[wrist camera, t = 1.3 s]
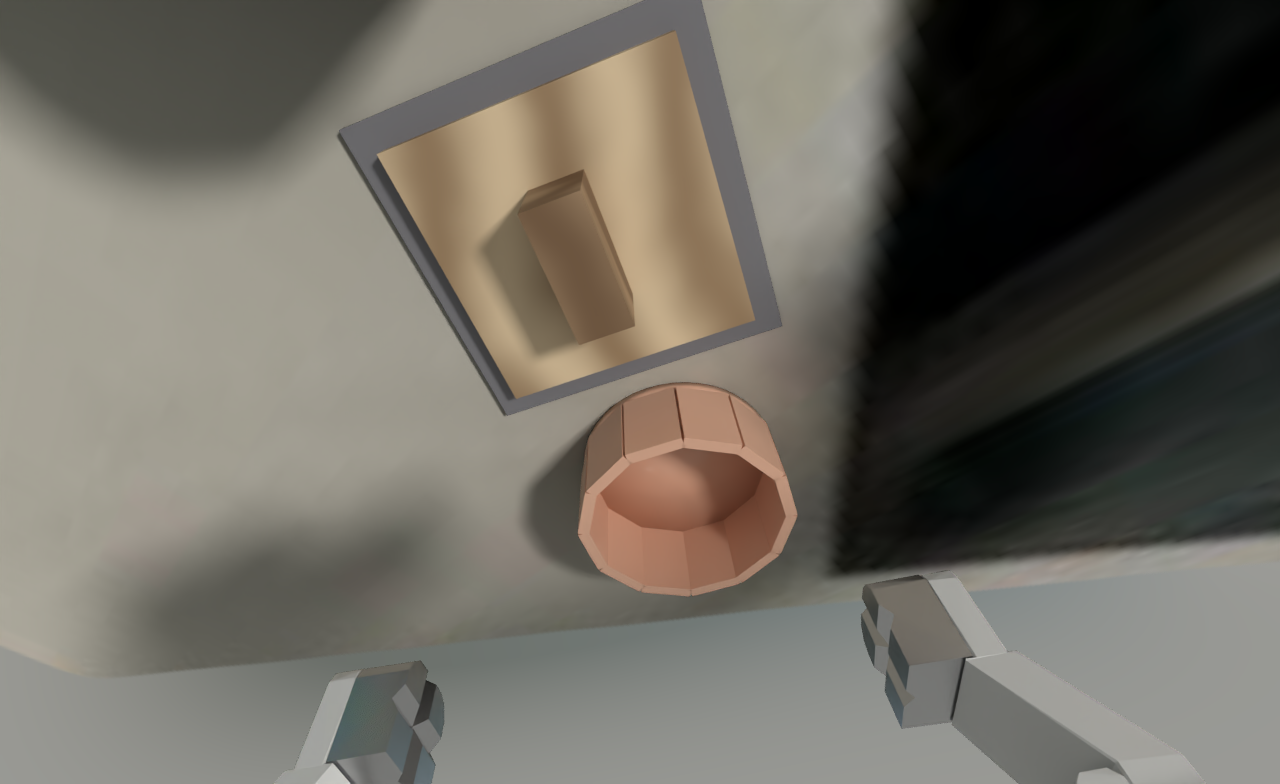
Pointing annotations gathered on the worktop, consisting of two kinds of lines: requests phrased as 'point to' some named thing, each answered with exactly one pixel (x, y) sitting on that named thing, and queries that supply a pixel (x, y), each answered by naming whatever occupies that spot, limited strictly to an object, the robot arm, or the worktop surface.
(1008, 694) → the robot arm
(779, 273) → the worktop surface
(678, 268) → the lid
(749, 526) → the bowl
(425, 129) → the mat
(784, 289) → the worktop surface
